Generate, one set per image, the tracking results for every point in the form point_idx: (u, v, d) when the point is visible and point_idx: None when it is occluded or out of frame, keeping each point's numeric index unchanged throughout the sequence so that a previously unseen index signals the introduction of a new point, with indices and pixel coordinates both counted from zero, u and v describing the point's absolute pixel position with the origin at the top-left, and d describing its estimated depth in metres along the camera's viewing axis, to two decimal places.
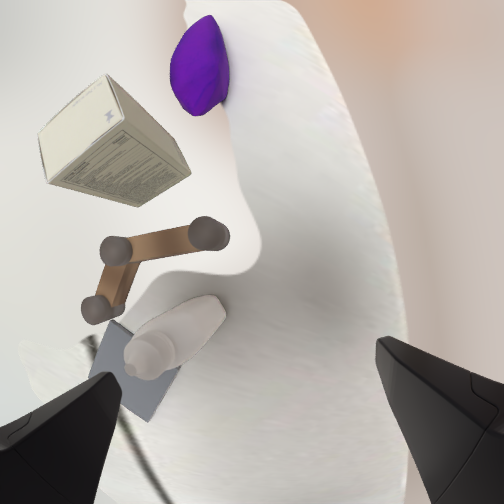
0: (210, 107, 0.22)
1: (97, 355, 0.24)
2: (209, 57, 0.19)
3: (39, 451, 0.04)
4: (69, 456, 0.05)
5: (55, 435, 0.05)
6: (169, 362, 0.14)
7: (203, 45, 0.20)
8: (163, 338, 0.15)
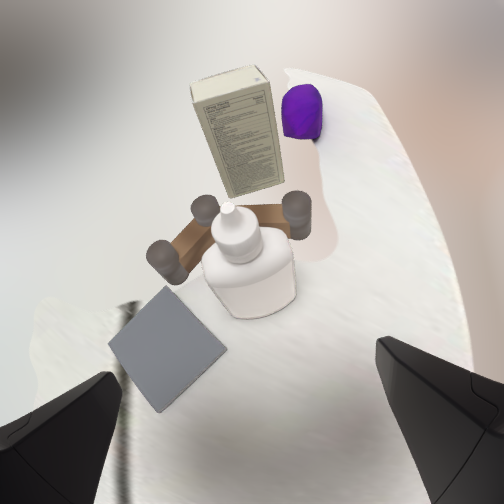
0: (308, 134, 0.29)
1: (133, 319, 0.24)
2: (312, 99, 0.29)
3: (39, 451, 0.04)
4: (69, 456, 0.05)
5: (55, 435, 0.05)
6: (257, 244, 0.15)
7: (308, 93, 0.30)
8: None
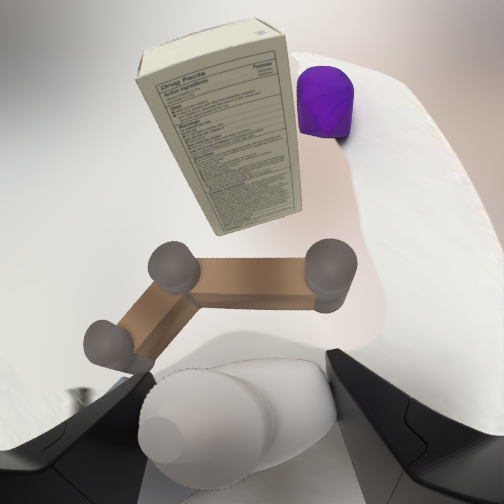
0: (338, 131, 0.19)
1: None
2: (341, 81, 0.19)
3: (80, 466, 0.04)
4: (111, 467, 0.05)
5: (95, 445, 0.05)
6: None
7: (332, 74, 0.20)
8: (261, 396, 0.06)
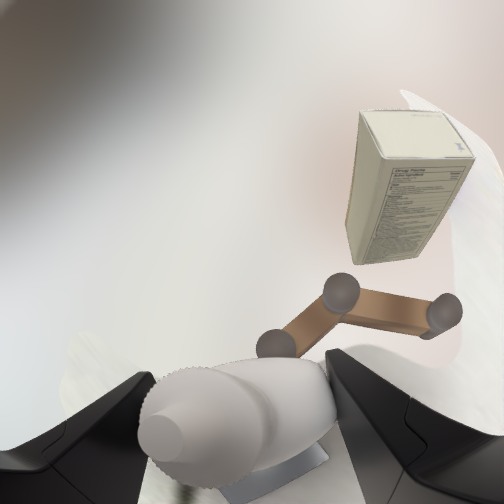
0: None
1: None
2: None
3: (80, 466, 0.04)
4: (111, 467, 0.05)
5: (95, 445, 0.05)
6: (263, 454, 0.05)
7: None
8: (261, 395, 0.06)
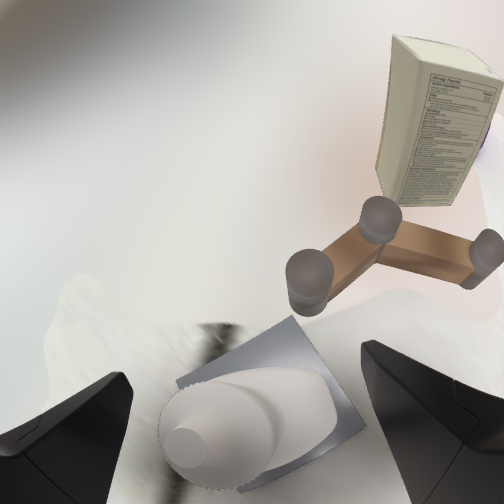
0: None
1: (227, 356, 0.16)
2: None
3: (50, 455, 0.04)
4: (81, 460, 0.05)
5: (66, 438, 0.05)
6: None
7: None
8: (268, 404, 0.06)
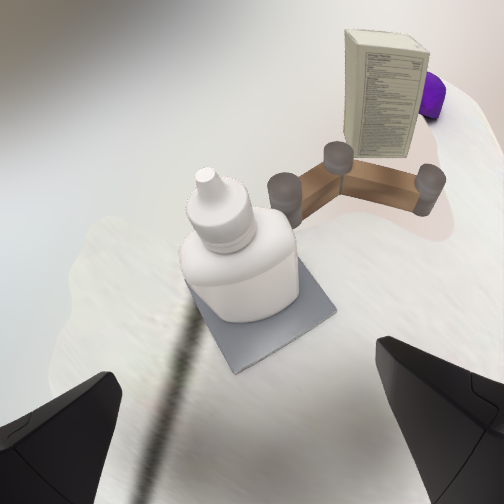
0: (434, 111, 0.24)
1: None
2: (439, 82, 0.23)
3: (39, 451, 0.04)
4: (69, 456, 0.05)
5: (55, 435, 0.05)
6: (248, 227, 0.11)
7: (433, 77, 0.25)
8: None
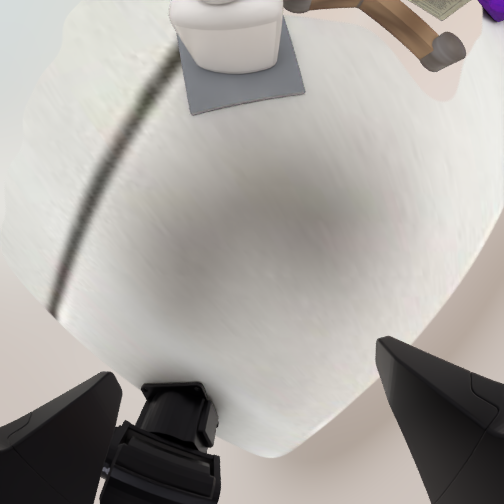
0: (496, 14, 0.11)
1: None
2: None
3: (39, 451, 0.04)
4: (69, 456, 0.05)
5: (55, 435, 0.05)
6: None
7: None
8: None
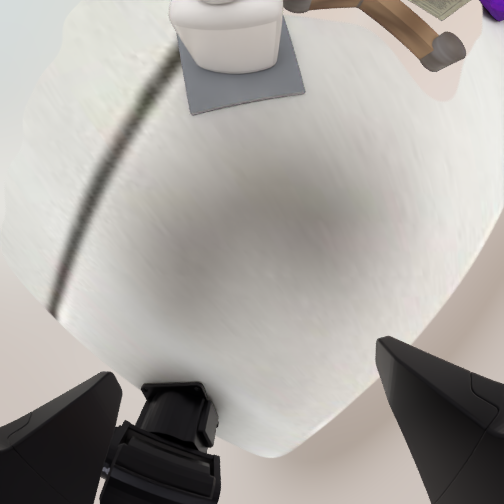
0: (497, 13, 0.11)
1: None
2: None
3: (39, 451, 0.04)
4: (69, 456, 0.05)
5: (55, 435, 0.05)
6: None
7: None
8: None
